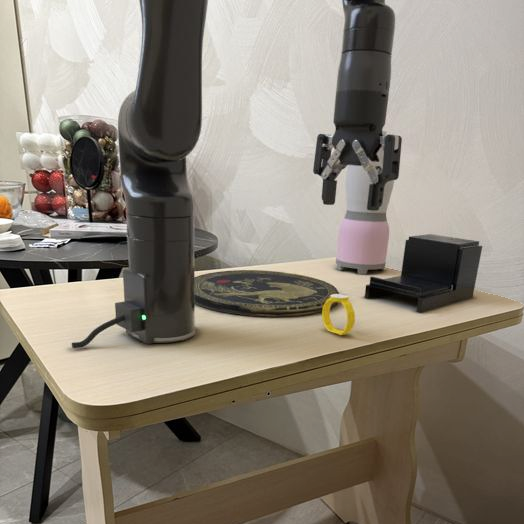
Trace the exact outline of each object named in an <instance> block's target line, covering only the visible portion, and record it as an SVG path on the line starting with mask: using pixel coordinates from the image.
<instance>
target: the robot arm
mask: <svg viewBox="0 0 524 524" xmlns="http://www.w3.org/2000/svg"><path fill="white" fill-rule="evenodd" d="M138 1H139V7H140V13H141V45H140V46H141V47H140V55H139V65H138V73H137V77H136V78H137V79H136V85H135V89H134V90H133V91H131V92H130V93H128V95H127V96H126V97H125V98H124V100H123V101H122V104H121V105H120V108H119V111H118V116H117V137H118V138H117V139H118V141H117V142H118V153H119V154H118V155H119V170H120V182H121V188H122V193H123V196H124V202H125V203H124V204H125V213H126V214H125V217H126V218H125V219H126V243H127V262H128V268H124V269H123V270H122V281H123V301H119V302H115V303H114V310H115V318H113V319H110V320H108V321H106V322H104V323H102V324H101V325H99V326H97V327H96V328H94V329H93V330H92V331H91V332H90V333H89V334H88V336H87V337H85V338H84V339H83V340H81V341H76V342H71V348H72V349H80V348H83V347H85V346H88V345H89V344H90V343H91V342H92V341H93V340H94V339H95V338H96V337H97V336H98V335H99V334H101V332H103V331H105V330H107V329H109V328H110V327H113V326H115V325H117V326H119V327H120V328H123V329H125V334H127V335H129V336H131V337H132V338H134V339H137V340H139V341H140V342H142V343H144V344H146V345H149V344H153V343H154V344H155V343H163V344H164V343H175V342H180V341H186V340H188V339H191V338H192V337H194V336H195V335H196V325H195V323H196V321H195V320H196V319H195V318H196V317H195V316H196V315H195V314H196V313H195V311H196V308H195V305H196V303H195V281H194V277H195V196H194V194H193V192H192V190H191V187H190V184H189V181H188V180H189V179H188V173H187V157H188V156H189V155H190V154H191V153H192V152H193V151H194V149H195V148H196V146H197V144H198V142H199V141H200V136H201V132H202V126H203V46H204V36H205V27H206V20H207V12H208V6H209V5H208V3H209V0H138ZM341 1H342V3H341V4H342V10H343V15H344V16H343V17H344V23H343V31H342V32H343V33H342V41H341V52H340V53H341V54H340V60H339V65H338V70H337V77H336V87H335V88H336V89H335V99H334V111H333V125H334V127H335V130H334V133H333V135H332V134H326V133H318V135H317V137H316V142H315V143H316V146H315V152H314V158H313V159H314V161H313V168H312V172H313V174H314V175H317V176H319V177H321V180H322V187H321V200H322V203H323V205H325V206H326V205H327V206H333V205H335V203H336V197H337V187H338V186H337V185H338V180H337V178H338V176H339V175H340V174H341V172H342V171H343V170H345V169H347V165H355V166H363V168H364V170H365V171H367V173H368V175H369V177H370V179H371V181H372V184H370V185H369V194H368V202H367V210H371V211H376V210H379V207H381V205H382V202H383V194H384V187H385V184H386V183H387V182H389V181H392V180H394V181H396V180H398V179H399V177H400V165H401V153H402V142H403V139H402V136H401V135H397V134H389V133H387V134H386V136H383V133H382V131H383V129H384V127H385V125H386V121H387V112H388V105H389V95H390V87H391V79H392V55H393V47H394V40H395V30H396V14H395V11H394V9H393V7H391V6H389V5H388V4H386V0H341ZM381 147H382V149H383V151H384V156H383V163H382V161H381V158H380V156H379V154H378V151H379V150H380V148H381ZM333 149H334V151H333V152H332V150H333Z"/></svg>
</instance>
